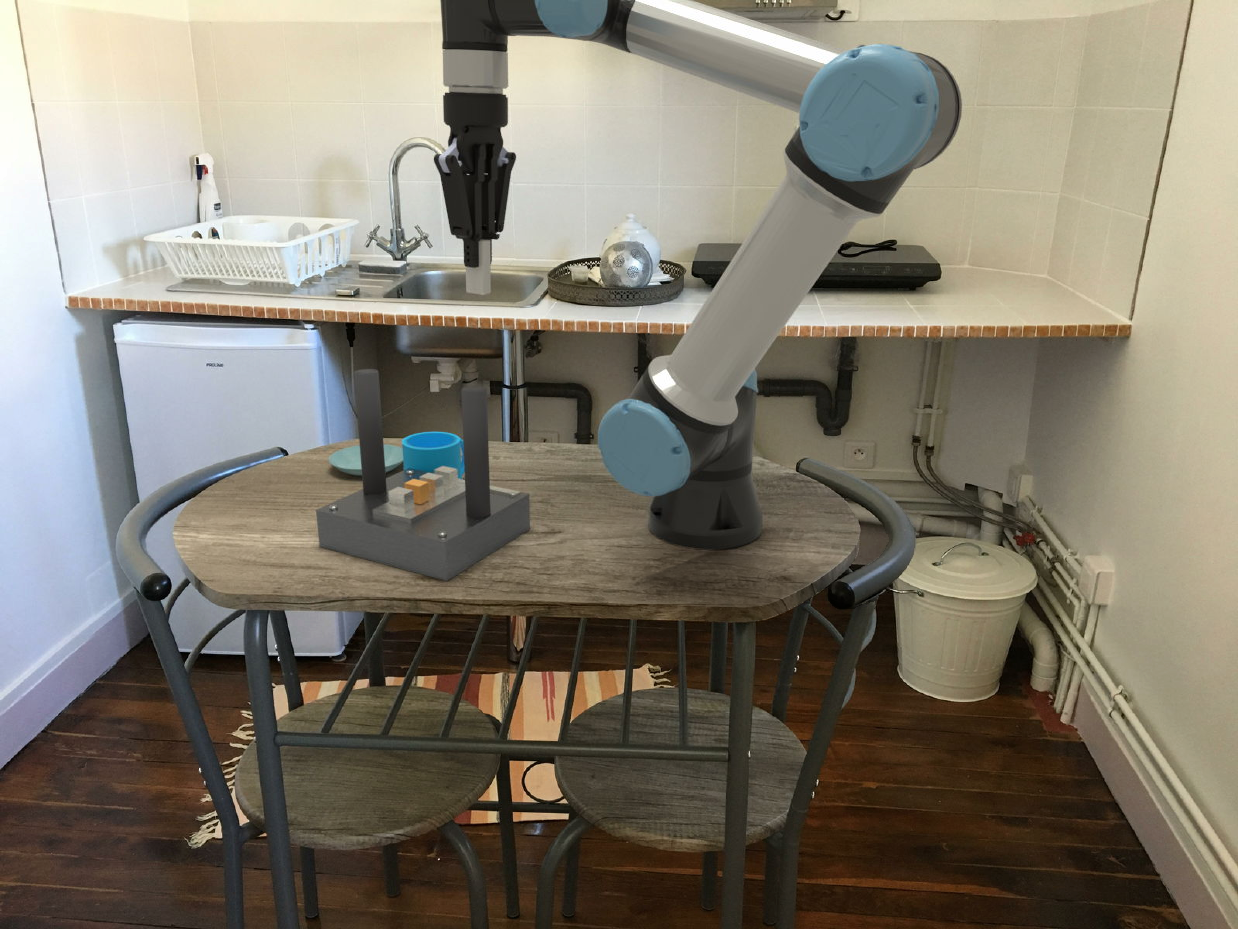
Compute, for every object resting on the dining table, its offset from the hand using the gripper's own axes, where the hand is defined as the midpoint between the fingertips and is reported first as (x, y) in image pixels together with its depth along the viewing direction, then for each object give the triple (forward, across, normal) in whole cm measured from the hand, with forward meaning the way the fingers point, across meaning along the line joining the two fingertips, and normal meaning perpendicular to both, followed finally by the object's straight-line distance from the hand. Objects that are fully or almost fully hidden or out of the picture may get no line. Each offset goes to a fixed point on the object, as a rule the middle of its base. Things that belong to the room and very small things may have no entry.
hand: (478, 292), depth 126 cm
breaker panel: (+31, +8, -2) cm, 32 cm away
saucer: (+32, -7, -28) cm, 43 cm away
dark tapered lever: (+26, +8, +6) cm, 28 cm away
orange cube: (+25, +10, -2) cm, 27 cm away
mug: (+32, -6, -12) cm, 34 cm away
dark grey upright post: (+26, +9, -11) cm, 30 cm away
